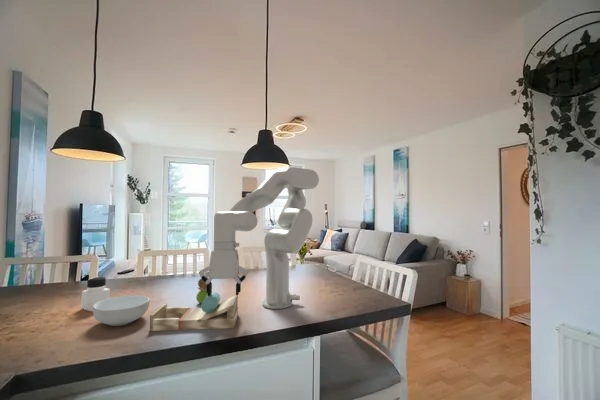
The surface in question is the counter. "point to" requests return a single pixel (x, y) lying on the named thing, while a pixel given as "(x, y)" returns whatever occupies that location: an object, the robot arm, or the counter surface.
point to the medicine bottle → (94, 293)
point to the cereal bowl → (120, 309)
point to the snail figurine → (201, 291)
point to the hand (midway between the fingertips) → (223, 294)
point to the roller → (210, 302)
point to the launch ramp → (195, 317)
